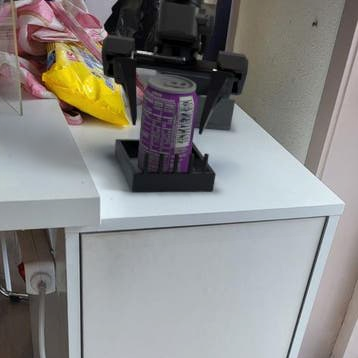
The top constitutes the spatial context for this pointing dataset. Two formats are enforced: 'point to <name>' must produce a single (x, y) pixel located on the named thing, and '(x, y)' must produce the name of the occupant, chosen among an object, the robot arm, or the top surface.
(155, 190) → the dish rack
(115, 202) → the top surface
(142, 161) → the beverage can
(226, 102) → the grey storage bin
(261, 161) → the top surface
